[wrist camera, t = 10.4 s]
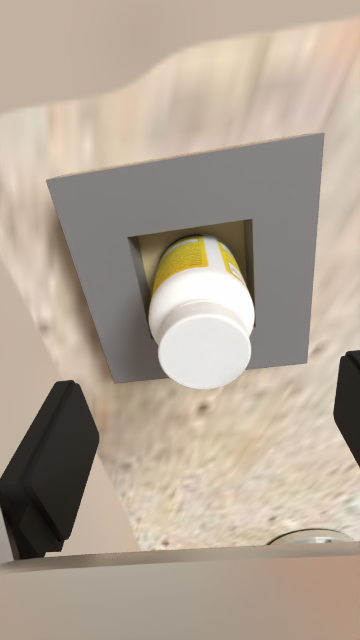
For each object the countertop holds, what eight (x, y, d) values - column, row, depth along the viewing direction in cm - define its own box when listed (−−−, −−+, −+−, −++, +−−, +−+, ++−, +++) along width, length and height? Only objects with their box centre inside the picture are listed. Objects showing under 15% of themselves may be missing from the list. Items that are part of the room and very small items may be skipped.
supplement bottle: (148, 291, 22) (126, 384, 14) (171, 219, 20) (161, 278, 11) (217, 313, 23) (236, 413, 15) (248, 246, 20) (293, 320, 12)
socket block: (290, 332, 25) (306, 363, 21) (123, 351, 26) (114, 383, 23) (297, 134, 18) (324, 132, 15) (70, 173, 19) (45, 179, 16)
